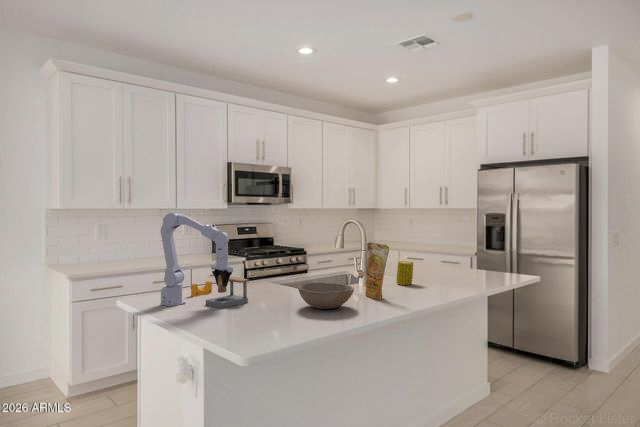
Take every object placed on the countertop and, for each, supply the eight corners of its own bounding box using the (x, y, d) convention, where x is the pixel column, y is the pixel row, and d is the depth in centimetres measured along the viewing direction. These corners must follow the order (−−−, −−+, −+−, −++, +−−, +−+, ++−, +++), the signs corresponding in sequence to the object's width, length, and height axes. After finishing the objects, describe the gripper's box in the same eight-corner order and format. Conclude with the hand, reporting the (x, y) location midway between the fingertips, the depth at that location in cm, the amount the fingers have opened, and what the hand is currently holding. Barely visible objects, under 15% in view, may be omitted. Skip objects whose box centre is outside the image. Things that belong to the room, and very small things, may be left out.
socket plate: (222, 308, 201) (222, 283, 201) (205, 304, 210) (205, 280, 210) (248, 302, 214) (248, 279, 214) (231, 299, 222) (231, 276, 222)
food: (403, 285, 271) (415, 288, 263) (389, 282, 266) (400, 285, 257) (409, 261, 272) (420, 263, 263) (394, 257, 266) (405, 260, 258)
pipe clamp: (206, 292, 242) (206, 280, 242) (211, 293, 239) (211, 281, 239) (188, 295, 232) (188, 283, 232) (194, 296, 229) (194, 284, 229)
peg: (228, 291, 210) (228, 275, 210) (221, 293, 207) (221, 276, 206) (222, 290, 212) (222, 274, 212) (216, 292, 209) (216, 275, 209)
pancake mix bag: (372, 293, 238) (372, 241, 237) (390, 300, 220) (390, 244, 219) (361, 294, 235) (361, 242, 235) (378, 301, 217) (378, 245, 217)
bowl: (321, 299, 222) (321, 279, 222) (365, 306, 205) (365, 285, 205) (285, 308, 202) (285, 287, 202) (330, 317, 185) (330, 294, 185)
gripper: (238, 257, 208) (238, 286, 208) (219, 255, 217) (219, 282, 217) (226, 259, 202) (226, 288, 202) (207, 256, 211) (207, 284, 212)
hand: (222, 285), depth 209 cm, fingers closed on peg, 4 cm apart
